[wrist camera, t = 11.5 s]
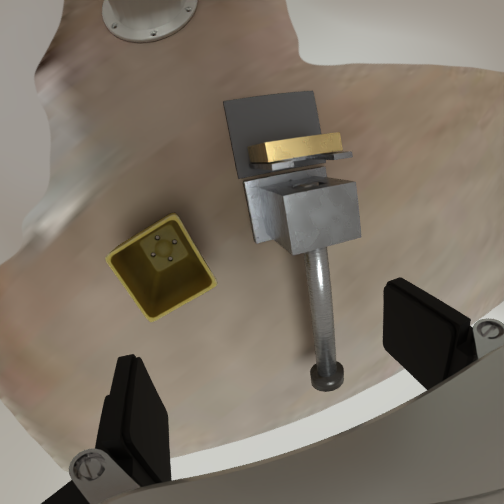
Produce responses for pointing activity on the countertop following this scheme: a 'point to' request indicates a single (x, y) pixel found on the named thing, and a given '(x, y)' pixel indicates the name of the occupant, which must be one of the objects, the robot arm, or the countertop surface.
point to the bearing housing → (303, 210)
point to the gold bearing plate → (295, 147)
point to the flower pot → (161, 268)
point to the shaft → (322, 317)
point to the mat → (270, 125)
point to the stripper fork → (290, 162)
